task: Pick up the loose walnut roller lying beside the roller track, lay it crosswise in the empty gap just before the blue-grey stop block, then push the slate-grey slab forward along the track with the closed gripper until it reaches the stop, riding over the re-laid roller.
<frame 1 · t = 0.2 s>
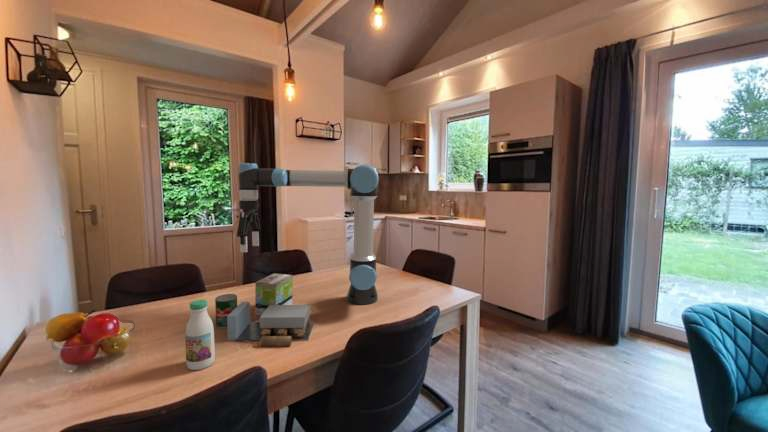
hand: (250, 248, 140), 28 cm above the table, fingers open, 13 cm apart
canned tomato: (227, 324, 129), on the table
milk bottle: (201, 364, 100), on the table
tea box: (274, 310, 144), on the table
stop block: (239, 331, 123), on the table
roller bed: (278, 331, 123), on the table
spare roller: (276, 345, 113), on the table
slab: (286, 315, 123), point 6 cm above the table, slide at 0.0 cm
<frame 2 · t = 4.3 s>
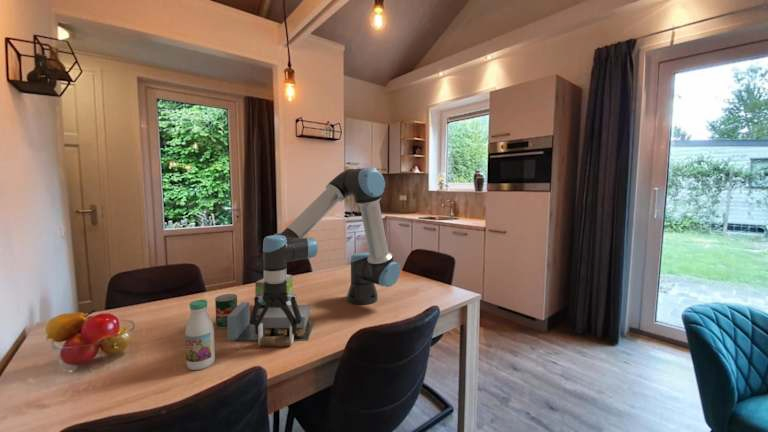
hand: (276, 342, 113), 1 cm above the table, fingers closed on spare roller, 10 cm apart
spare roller: (276, 344, 113), on the table, tilted 23°, touching gripper
everything else where it was.
when the fingers open (2 cm above the table, at t = 10.2 s): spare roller moves 2 cm and tips over, resting on roller bed.
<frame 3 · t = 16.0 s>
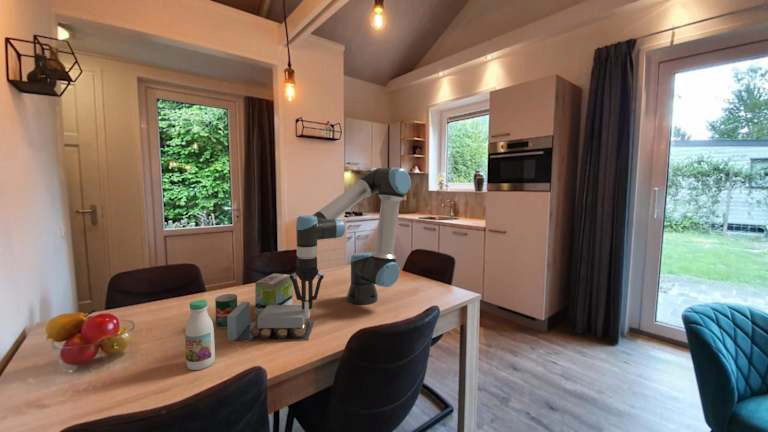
hand: (307, 317, 123), 6 cm above the table, fingers closed
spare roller: (255, 325, 123), point 2 cm above the table, tilted 108°, touching roller bed
slab: (284, 315, 123), point 6 cm above the table, slide at 0.8 cm, touching gripper
everything else where it was.
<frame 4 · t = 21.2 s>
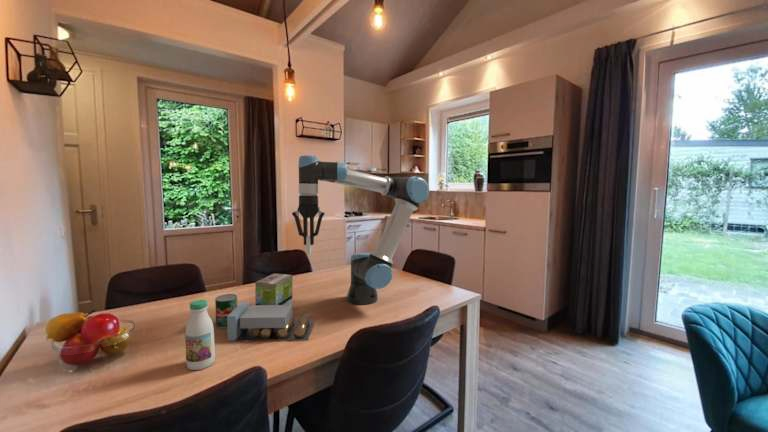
hand: (308, 252, 131), 28 cm above the table, fingers closed
slab: (267, 316, 123), point 6 cm above the table, slide at 7.0 cm
everything else where it was.
at the end: slab slide at 7.0 cm; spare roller inside the target area (1.0 cm from its centre), point 2.3 cm above the table; the gripper is holding nothing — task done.
